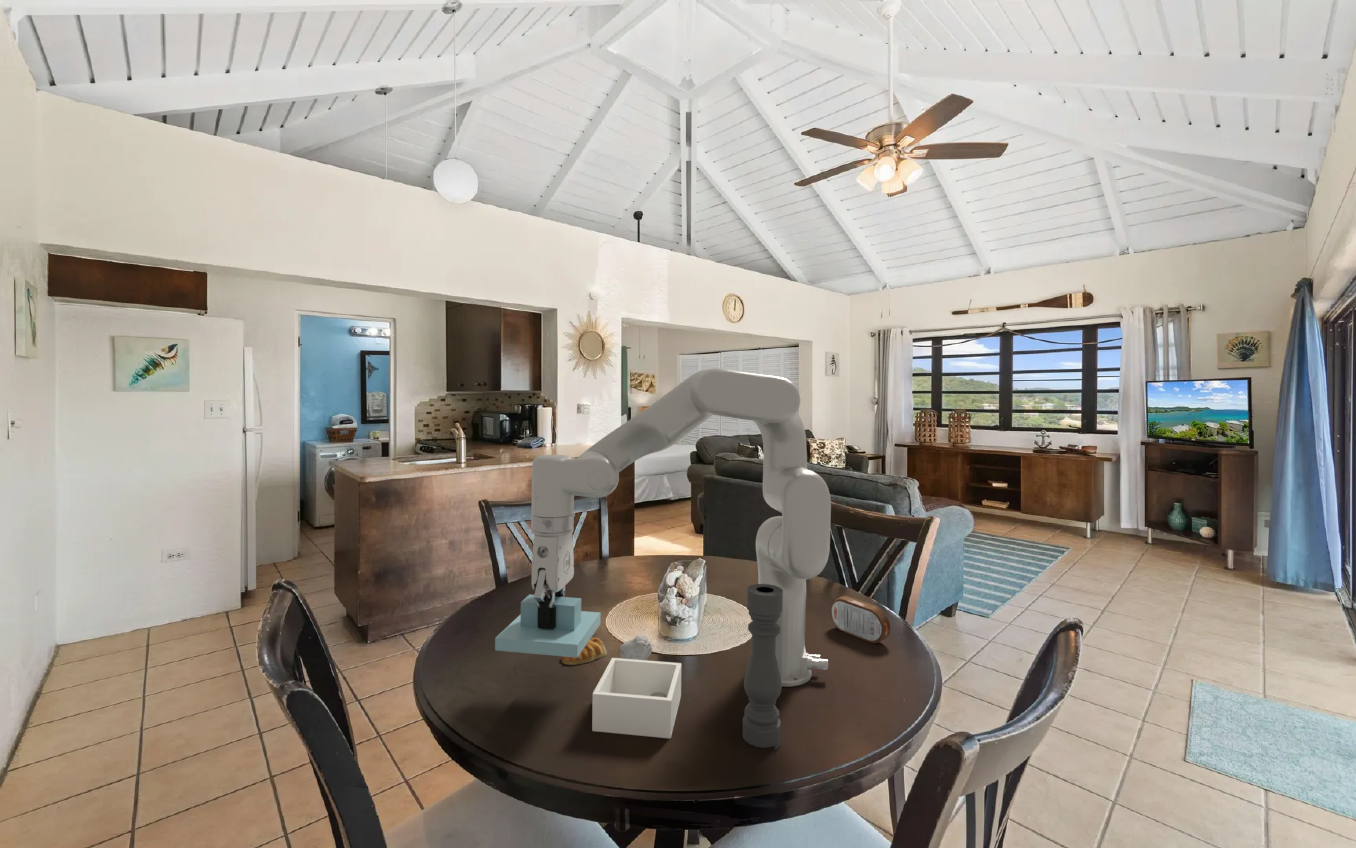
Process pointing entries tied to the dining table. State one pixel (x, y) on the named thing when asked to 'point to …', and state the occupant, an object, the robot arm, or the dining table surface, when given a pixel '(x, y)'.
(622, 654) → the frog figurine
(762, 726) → the candle holder
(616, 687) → the tub
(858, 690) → the dining table surface
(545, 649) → the lid
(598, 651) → the pastry
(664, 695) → the nut
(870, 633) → the tin
